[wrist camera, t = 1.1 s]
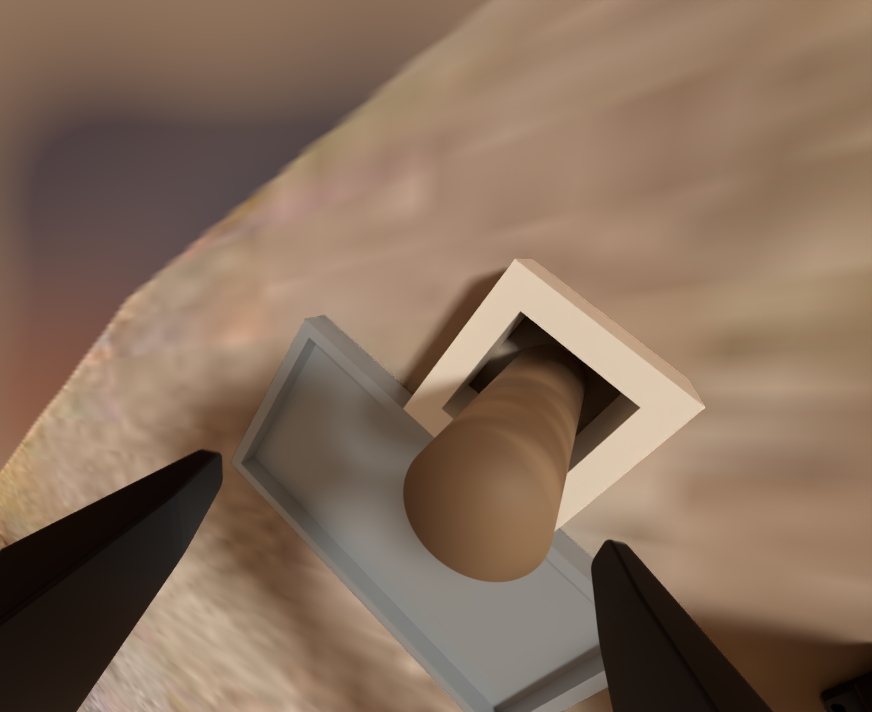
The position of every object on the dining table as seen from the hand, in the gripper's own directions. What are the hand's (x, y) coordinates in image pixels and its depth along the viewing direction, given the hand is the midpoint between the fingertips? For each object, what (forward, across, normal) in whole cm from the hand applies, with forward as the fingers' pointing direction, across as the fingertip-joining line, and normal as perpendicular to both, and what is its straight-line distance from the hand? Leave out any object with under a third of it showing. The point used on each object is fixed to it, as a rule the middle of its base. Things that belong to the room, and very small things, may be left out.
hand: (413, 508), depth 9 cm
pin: (+12, -6, +2) cm, 13 cm away
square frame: (+12, -6, +2) cm, 13 cm away
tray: (+12, -2, +14) cm, 19 cm away
